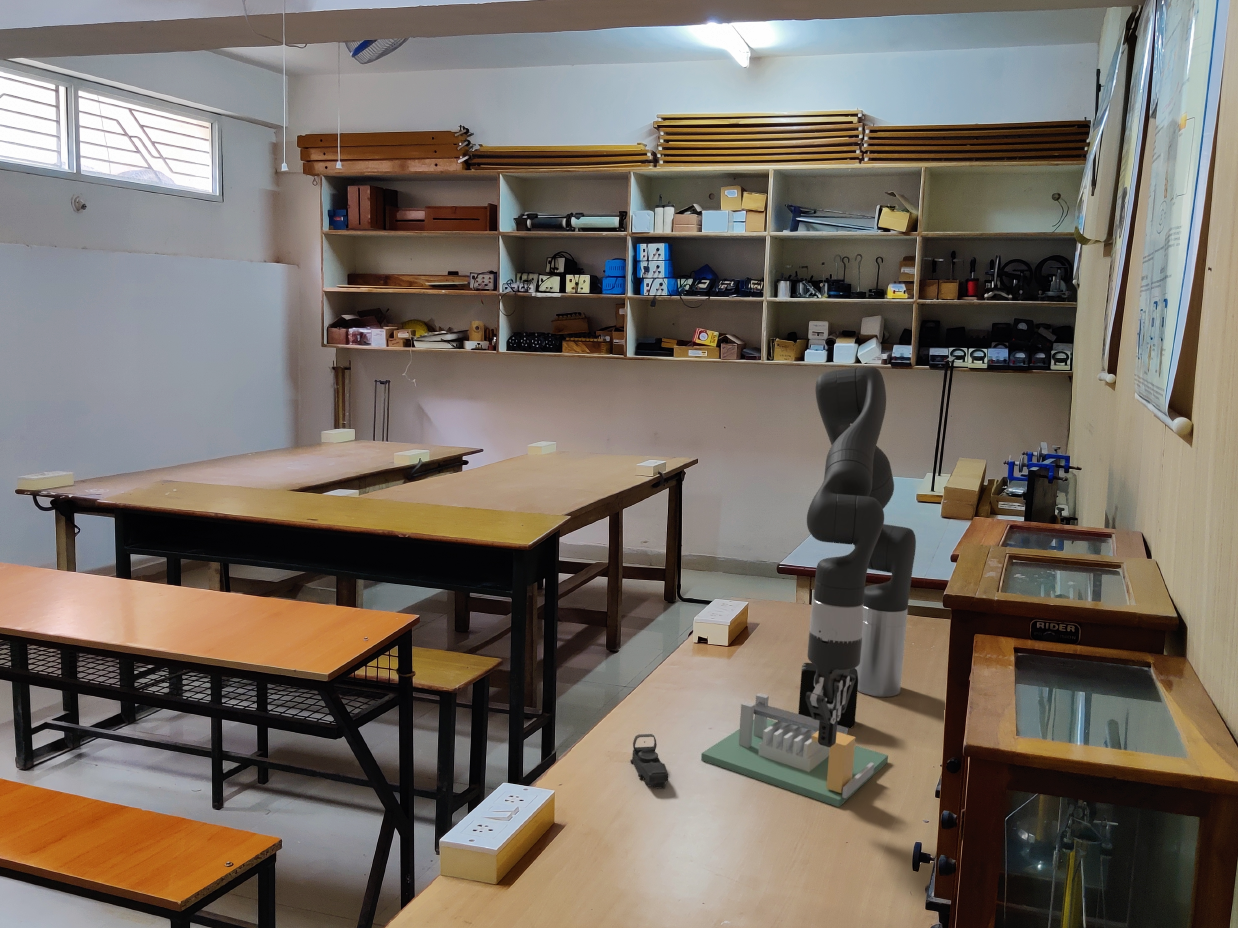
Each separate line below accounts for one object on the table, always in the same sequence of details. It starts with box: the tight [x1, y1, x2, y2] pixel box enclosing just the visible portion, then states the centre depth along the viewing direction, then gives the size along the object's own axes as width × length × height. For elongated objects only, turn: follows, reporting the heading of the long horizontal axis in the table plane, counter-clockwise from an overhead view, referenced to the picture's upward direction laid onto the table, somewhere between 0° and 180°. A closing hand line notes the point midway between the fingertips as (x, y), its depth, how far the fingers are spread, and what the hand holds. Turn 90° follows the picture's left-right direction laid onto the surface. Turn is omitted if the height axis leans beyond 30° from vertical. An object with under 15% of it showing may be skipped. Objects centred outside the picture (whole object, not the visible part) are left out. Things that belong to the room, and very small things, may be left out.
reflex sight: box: [630, 733, 669, 789], centre depth 155 cm, size 4×10×5 cm, turn 12°
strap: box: [753, 702, 849, 735], centre depth 162 cm, size 4×16×1 cm, turn 54°
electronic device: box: [797, 662, 859, 729], centre depth 179 cm, size 4×10×10 cm, turn 78°
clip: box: [811, 731, 856, 793], centre depth 151 cm, size 4×5×8 cm
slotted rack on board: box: [700, 692, 889, 808], centre depth 162 cm, size 20×25×8 cm
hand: (826, 744), depth 145 cm, fingers closed
